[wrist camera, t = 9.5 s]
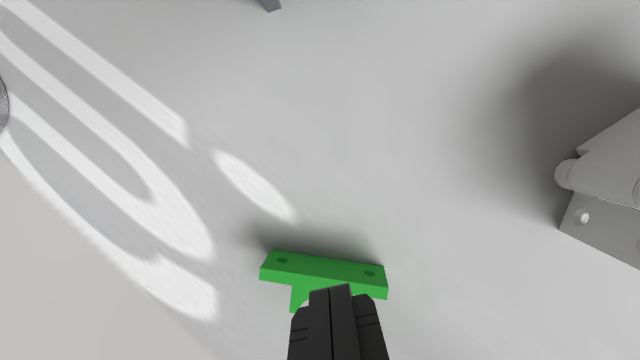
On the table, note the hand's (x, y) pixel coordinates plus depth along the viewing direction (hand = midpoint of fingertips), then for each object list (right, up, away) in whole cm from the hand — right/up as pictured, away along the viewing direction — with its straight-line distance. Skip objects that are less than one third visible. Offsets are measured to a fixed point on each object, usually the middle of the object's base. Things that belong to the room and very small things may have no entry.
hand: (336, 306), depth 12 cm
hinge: (+25, +6, +16) cm, 30 cm away
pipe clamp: (0, -5, +20) cm, 21 cm away
